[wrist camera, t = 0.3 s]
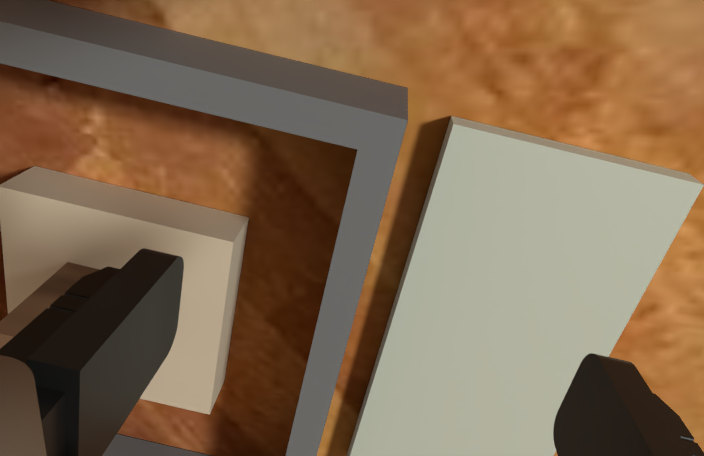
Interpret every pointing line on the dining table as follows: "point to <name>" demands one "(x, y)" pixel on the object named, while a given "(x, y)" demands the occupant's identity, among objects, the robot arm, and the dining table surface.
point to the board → (512, 290)
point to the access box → (189, 219)
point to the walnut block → (41, 299)
